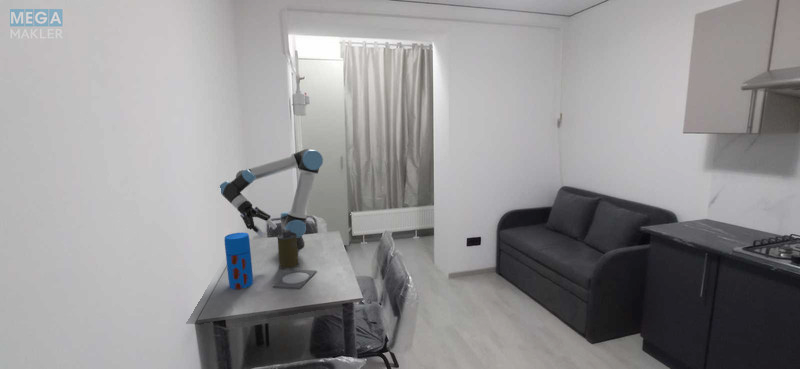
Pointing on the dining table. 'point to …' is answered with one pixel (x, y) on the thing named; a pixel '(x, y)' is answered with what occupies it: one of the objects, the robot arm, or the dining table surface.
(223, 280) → the dining table surface
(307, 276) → the circle mat
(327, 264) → the dining table surface
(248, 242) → the thermos
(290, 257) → the canister
